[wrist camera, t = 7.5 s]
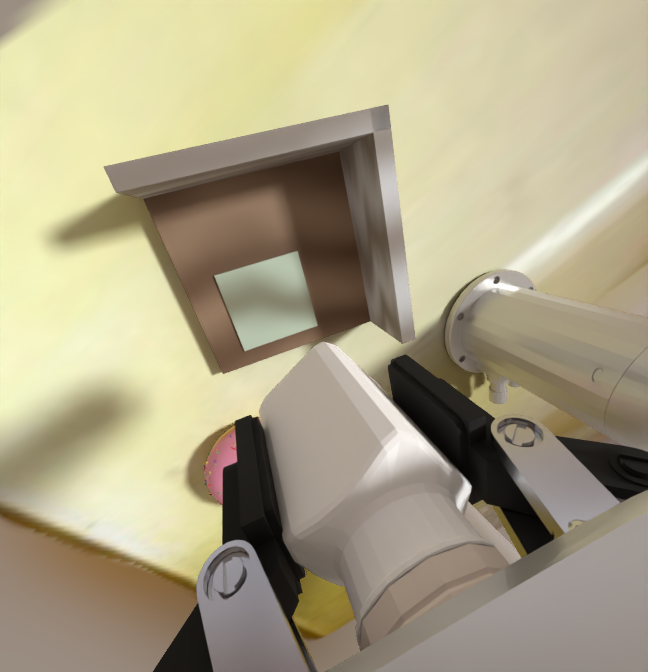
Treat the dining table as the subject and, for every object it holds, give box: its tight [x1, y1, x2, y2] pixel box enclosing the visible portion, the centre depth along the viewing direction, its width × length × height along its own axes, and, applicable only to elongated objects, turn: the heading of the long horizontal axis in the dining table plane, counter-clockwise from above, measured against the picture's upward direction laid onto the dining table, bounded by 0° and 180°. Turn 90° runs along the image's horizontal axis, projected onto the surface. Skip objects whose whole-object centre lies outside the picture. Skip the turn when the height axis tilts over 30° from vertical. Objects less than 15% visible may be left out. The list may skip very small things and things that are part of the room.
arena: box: [104, 105, 415, 374], centre depth 23 cm, size 16×16×7 cm
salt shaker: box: [259, 341, 510, 651], centre depth 8 cm, size 4×4×10 cm
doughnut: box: [204, 417, 261, 505], centre depth 31 cm, size 11×11×4 cm
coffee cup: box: [464, 502, 521, 564], centre depth 41 cm, size 10×10×15 cm
